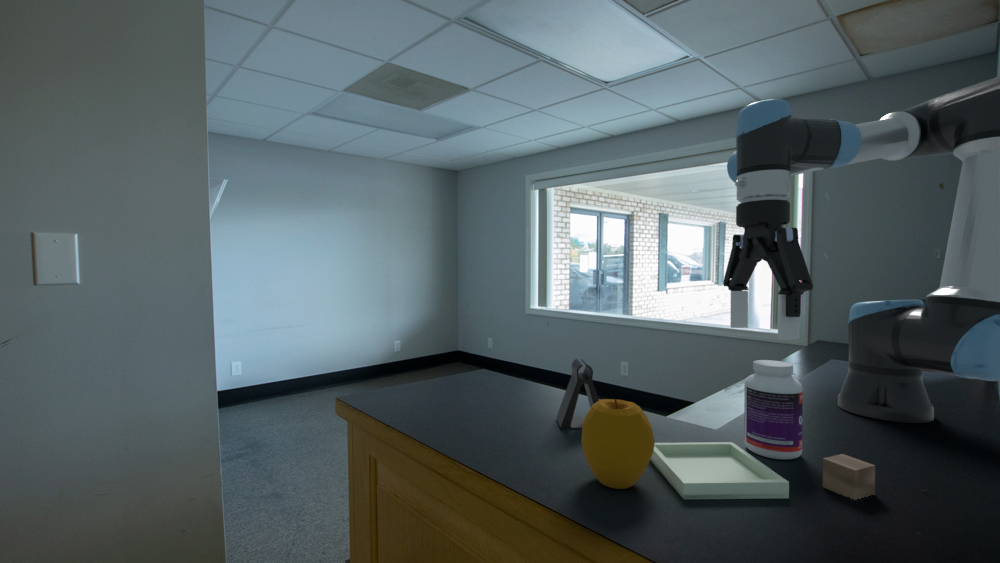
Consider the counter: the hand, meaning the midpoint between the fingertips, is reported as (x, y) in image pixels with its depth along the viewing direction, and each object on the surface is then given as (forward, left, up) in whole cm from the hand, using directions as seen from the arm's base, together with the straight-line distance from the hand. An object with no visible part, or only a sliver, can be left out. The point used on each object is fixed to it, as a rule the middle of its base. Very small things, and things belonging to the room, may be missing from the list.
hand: (761, 333), depth 73 cm
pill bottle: (-1, +1, -19) cm, 19 cm away
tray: (+13, +9, -19) cm, 24 cm away
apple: (+27, +11, -19) cm, 35 cm away
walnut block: (-3, +14, -19) cm, 24 cm away
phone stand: (+27, -13, -19) cm, 35 cm away
